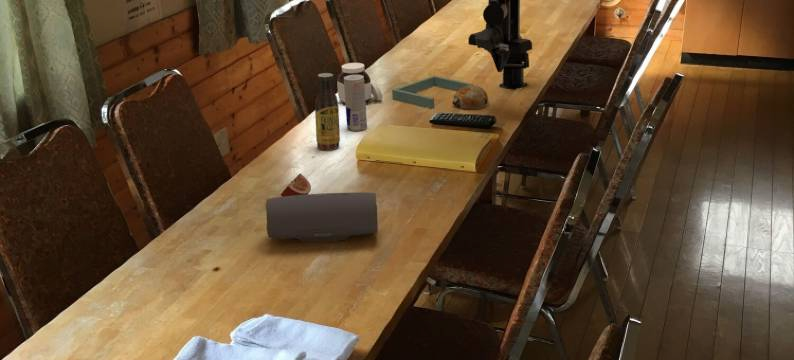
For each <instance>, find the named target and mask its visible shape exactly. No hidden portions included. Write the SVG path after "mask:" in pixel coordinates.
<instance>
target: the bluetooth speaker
mask: <svg viewBox="0 0 794 360" xmlns="http://www.w3.org/2000/svg"><path fill="white" fill-rule="evenodd" d="M265 212H266V234H267V237H268V238H270V239H280V240H281V239H292V240H295V239H297V240H299V242H302V243H319V242H321V243H322V242H337V241H344V240H345V241H346V240H349V238H350V236H351V237H352V236H358V235H369V234H374V233H378V232H379V228H378V226H379V223H378V221H379V220H378V205H377V193H376V192H363V191H362V192H359V191H358V192H327V193H325V192H324V193H310V194H309V193H308V194H307V195H295V196H284V197H282V196H278V197H270V198H266V201H265Z"/></svg>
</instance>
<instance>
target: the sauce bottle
mask: <svg viewBox="0 0 794 360" xmlns="http://www.w3.org/2000/svg"><path fill="white" fill-rule="evenodd" d="M317 82H318V94H317V95H316V96H315V97H316V98H315V101H314V105H315V107H314V108H315V109H314V110H315V111H314V112H315V113H314V115H315V116H314V118H315V138H316V147H317V149H320V150H323V151H330V150H331V151H332V150H335V149H338V148H339V147H340V141H341V135H340V133H341V131H340V111H339V110H340V109H339V108H340V107H339V103H338V95H336V93H335V91H334V74H333V73H330V72H329V73H328V72H323V73H318V74H317Z"/></svg>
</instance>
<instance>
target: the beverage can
mask: <svg viewBox="0 0 794 360" xmlns="http://www.w3.org/2000/svg"><path fill="white" fill-rule="evenodd" d="M344 90H345V104H346V105H345V104H344V105H345V116H346V119H345V120H346V128H347V129H348V130H349V131H353V132H359V131H364V130H365V129H367V128H368V121H367V119H368V118H367V103H366V101H365V84H364V76H362V75H349V76H346V77H344Z"/></svg>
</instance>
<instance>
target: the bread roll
mask: <svg viewBox="0 0 794 360" xmlns="http://www.w3.org/2000/svg"><path fill="white" fill-rule="evenodd" d="M488 102H489V96H488V94H487V91H486V90H485V89H484V88H482V87H481V86H479V85H478V84H475V85H474V84H473V85H467V86H465V87H462V88H461V89H459V90H458V91H456V92H455V94H454V95H453V100H452V105H454V106H455V108H457V109H460V110H466V111H471V110H473V111H475V110H482V109H484V108H487V107H488Z"/></svg>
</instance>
